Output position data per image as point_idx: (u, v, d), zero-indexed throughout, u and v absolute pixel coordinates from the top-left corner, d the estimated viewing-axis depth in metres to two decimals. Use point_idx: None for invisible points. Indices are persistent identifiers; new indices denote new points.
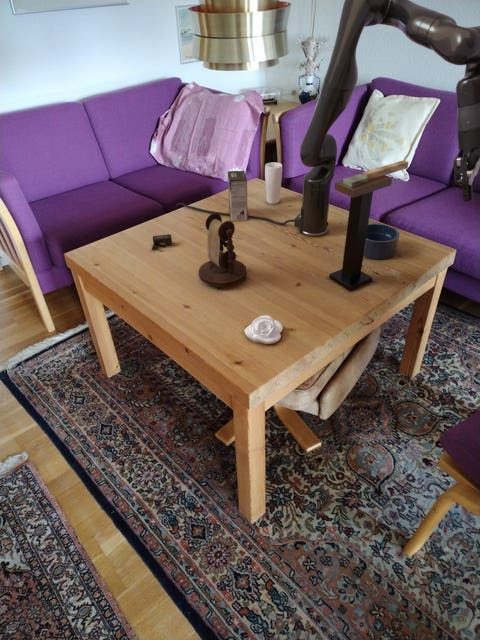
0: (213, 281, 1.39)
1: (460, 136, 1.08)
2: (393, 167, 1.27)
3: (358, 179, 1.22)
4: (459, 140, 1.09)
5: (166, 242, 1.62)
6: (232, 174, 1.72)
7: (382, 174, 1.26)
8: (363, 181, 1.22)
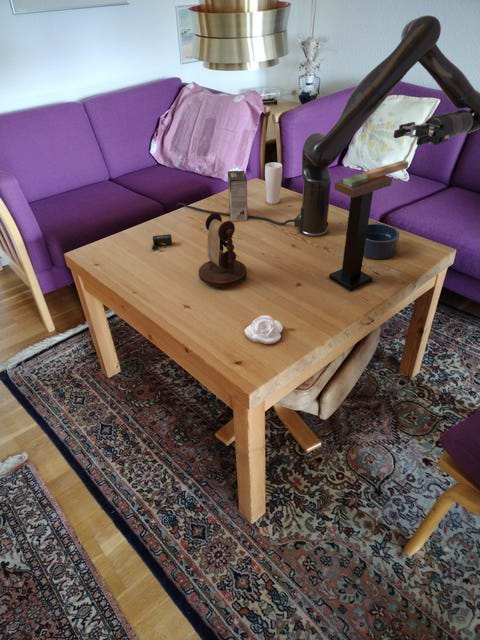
0: (213, 281, 1.39)
1: (450, 124, 1.39)
2: (393, 167, 1.27)
3: (358, 179, 1.22)
4: (448, 124, 1.38)
5: (166, 242, 1.62)
6: (232, 174, 1.72)
7: (382, 174, 1.26)
8: (363, 181, 1.22)
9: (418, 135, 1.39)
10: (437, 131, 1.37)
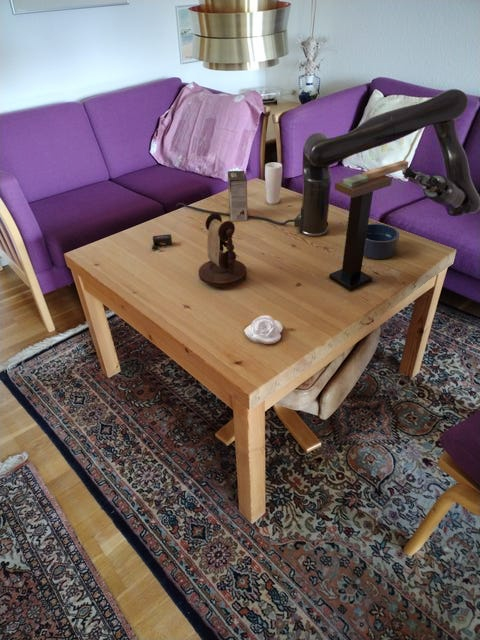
0: (213, 281, 1.39)
1: None
2: (393, 167, 1.27)
3: (358, 179, 1.22)
4: (449, 185, 1.43)
5: (166, 242, 1.62)
6: (232, 174, 1.72)
7: (382, 174, 1.26)
8: (363, 181, 1.22)
9: (423, 182, 1.41)
10: None
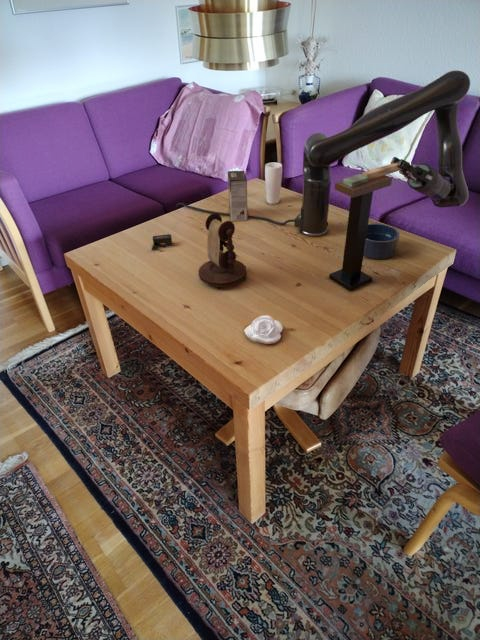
0: (213, 281, 1.39)
1: (435, 176, 1.36)
2: (393, 167, 1.27)
3: (358, 179, 1.22)
4: (434, 174, 1.36)
5: (166, 242, 1.62)
6: (232, 174, 1.72)
7: (382, 174, 1.26)
8: (363, 181, 1.22)
9: None
10: None
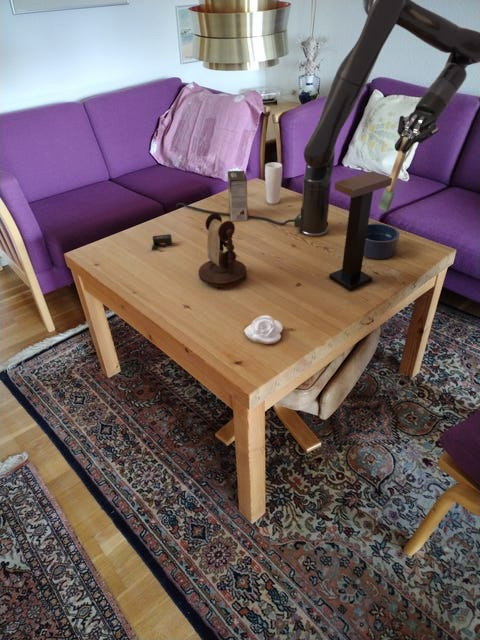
0: (213, 281, 1.39)
1: (440, 103, 1.35)
2: (401, 159, 1.41)
3: (387, 202, 1.47)
4: (437, 105, 1.35)
5: (166, 242, 1.62)
6: (232, 174, 1.72)
7: (398, 172, 1.43)
8: (391, 198, 1.47)
9: None
10: (429, 122, 1.36)
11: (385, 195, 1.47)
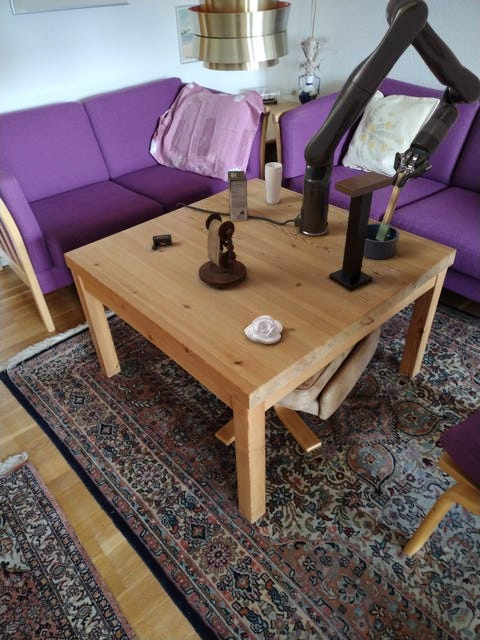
0: (213, 281, 1.39)
1: (434, 142, 1.41)
2: (397, 193, 1.48)
3: (384, 233, 1.54)
4: (431, 143, 1.41)
5: (166, 242, 1.62)
6: (232, 174, 1.72)
7: (395, 206, 1.50)
8: (388, 230, 1.53)
9: None
10: (423, 159, 1.42)
11: (382, 226, 1.54)
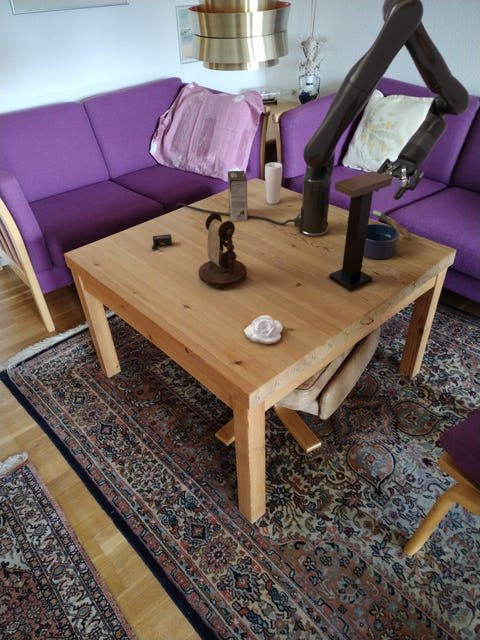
0: (213, 281, 1.39)
1: (421, 153, 1.41)
2: (403, 228, 1.59)
3: (384, 215, 1.49)
4: (418, 155, 1.41)
5: (166, 242, 1.62)
6: (232, 174, 1.72)
7: (396, 227, 1.56)
8: (387, 219, 1.50)
9: (396, 177, 1.46)
10: (410, 171, 1.42)
11: None
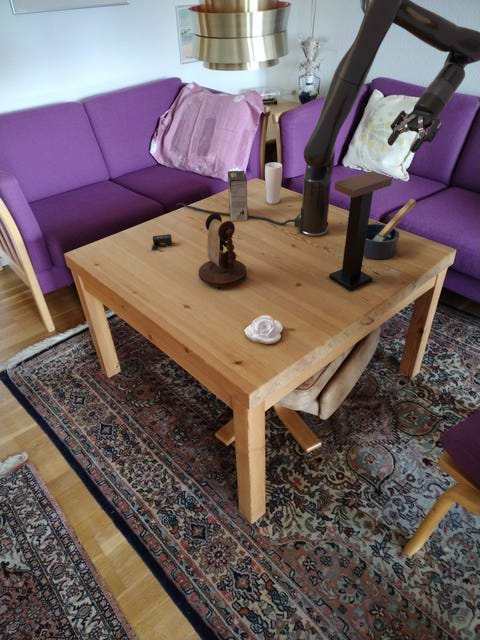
0: (213, 281, 1.39)
1: (438, 103, 1.34)
2: (403, 214, 1.54)
3: None
4: (436, 104, 1.34)
5: (166, 242, 1.62)
6: (232, 174, 1.72)
7: (395, 225, 1.55)
8: None
9: (412, 130, 1.39)
10: (427, 122, 1.35)
11: (376, 238, 1.55)
